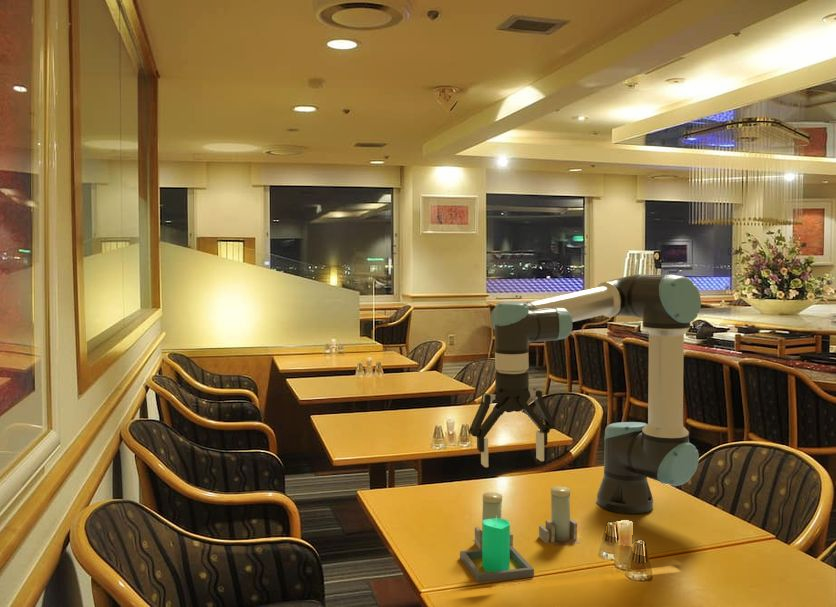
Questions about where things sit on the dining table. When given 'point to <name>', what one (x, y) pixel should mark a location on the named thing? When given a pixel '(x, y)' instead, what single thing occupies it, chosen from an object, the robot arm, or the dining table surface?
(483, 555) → the candle
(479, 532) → the fuse clips
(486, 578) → the tray
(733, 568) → the dining table surface
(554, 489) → the cream round cylinder
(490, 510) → the fuse
